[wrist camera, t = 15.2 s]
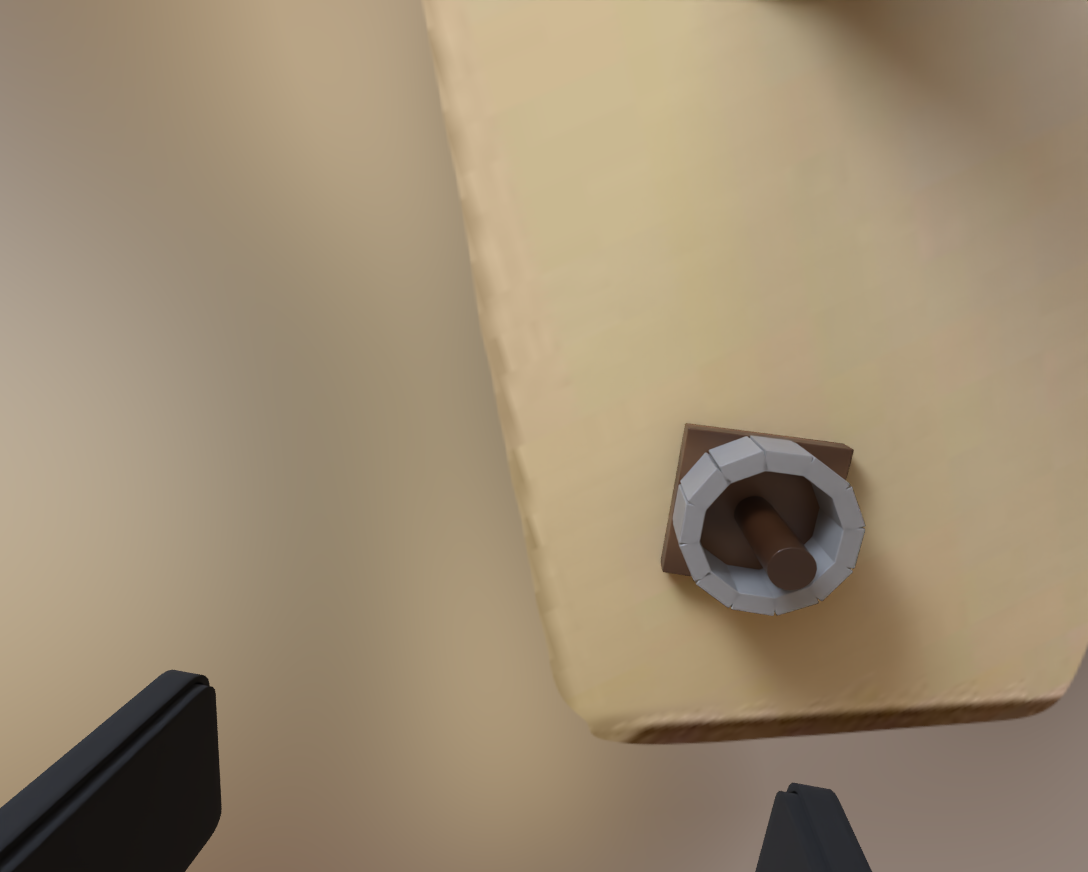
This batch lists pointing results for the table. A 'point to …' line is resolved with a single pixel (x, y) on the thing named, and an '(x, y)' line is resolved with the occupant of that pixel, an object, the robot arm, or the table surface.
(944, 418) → the table surface
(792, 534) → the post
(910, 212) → the table surface
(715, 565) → the tape roll
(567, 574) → the table surface
